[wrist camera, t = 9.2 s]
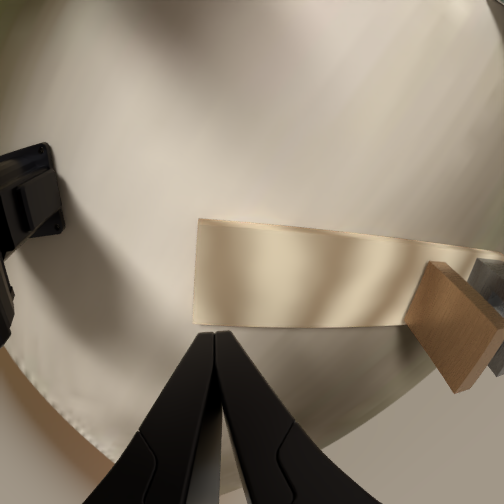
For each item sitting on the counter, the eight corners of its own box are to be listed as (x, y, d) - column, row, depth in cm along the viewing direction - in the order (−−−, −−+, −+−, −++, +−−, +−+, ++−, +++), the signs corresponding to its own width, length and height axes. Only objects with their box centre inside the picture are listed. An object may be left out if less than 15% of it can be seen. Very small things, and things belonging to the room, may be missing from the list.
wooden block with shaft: (403, 319, 24) (453, 393, 17) (429, 260, 22) (497, 329, 14) (480, 314, 26) (525, 366, 19) (502, 267, 24) (557, 316, 16)
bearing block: (449, 317, 26) (496, 377, 18) (476, 257, 23) (538, 312, 15) (475, 315, 27) (520, 367, 19) (501, 260, 24) (556, 308, 16)
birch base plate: (193, 315, 23) (192, 323, 22) (198, 218, 20) (197, 224, 19) (471, 313, 28) (476, 318, 27) (500, 252, 25) (505, 256, 24)
